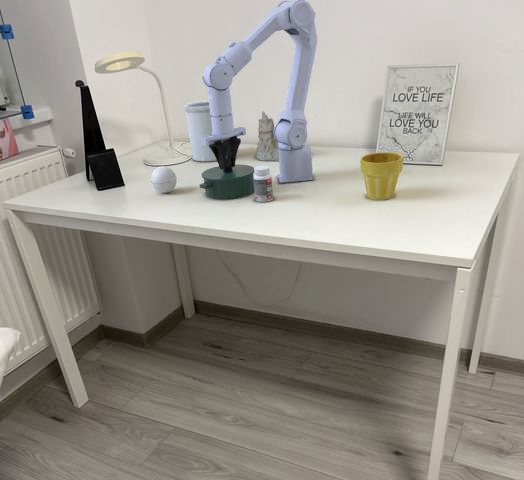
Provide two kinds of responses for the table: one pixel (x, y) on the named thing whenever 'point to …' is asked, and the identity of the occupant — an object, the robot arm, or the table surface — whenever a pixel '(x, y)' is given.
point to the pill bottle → (263, 184)
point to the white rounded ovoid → (163, 179)
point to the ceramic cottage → (267, 140)
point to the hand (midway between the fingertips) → (227, 167)
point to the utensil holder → (199, 129)
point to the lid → (228, 172)
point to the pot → (229, 188)
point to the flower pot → (381, 173)
